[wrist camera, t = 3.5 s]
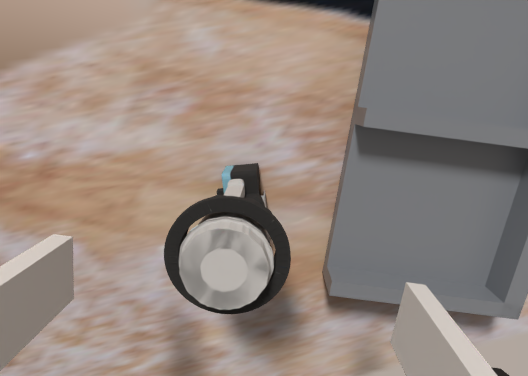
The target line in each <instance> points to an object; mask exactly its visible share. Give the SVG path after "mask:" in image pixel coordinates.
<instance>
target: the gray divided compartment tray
mask: <svg viewBox="0 0 528 376" xmlns="http://www.w3.org/2000/svg"><path fill="white" fill-rule="evenodd" d="M322 272H323V276H324V279H325V283H326V286H327V290H328V293H329V296H337V297H345V298H353V299H361V300H369V301H376V302H384V303H392V304H400V303H401V299H402V296H403V292H404V288H405V284H406V282H409V283H416V284H423V285H426V286H427V287H428V289H429V290H430V291H431V292H432V294H433V295H434V296H435V297H436V299H437V300H438V301H439V302H440V304H441V305H442V306H443V307H444V309H445V310H447V311H455V312H463V313H471V314H479V315H487V316H494V317H502V318H510V319H518V318H519V316H520V313H521V310H522V307H523V305H524V302H525V299H526V297H527V294H528V0H374V5H373V11H372V16H371V21H370V26H369V31H368V37H367V42H366V47H365V52H364V57H363V63H362V68H361V73H360V78H359V84H358V89H357V94H356V99H355V104H354V110H353V115H352V120H351V125H350V130H349V136H348V141H347V146H346V151H345V157H344V162H343V167H342V172H341V177H340V183H339V188H338V193H337V198H336V203H335V209H334V214H333V219H332V224H331V230H330V235H329V240H328V245H327V250H326V256H325V261H324V266H323V271H322Z"/></svg>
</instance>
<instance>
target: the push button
mask: <svg viewBox="0 0 528 376" xmlns="http://www.w3.org/2000/svg"><path fill="white" fill-rule="evenodd" d="M259 178H260V177H259V166H258V163H255V164H245V165H234V166H226V167H225V169H224V171H223V172H222V182H223V188H221V189H218V190H217V195H216V196H213V197H211V198H207V199H204V200H202V201H199V202H197V203H195V204H193V205H192V206H190V207H189V208H187V209H186V210H185V211H184V212H183V213H182V214H181V215H180V216H179V217H178V218H177V220H176V221H175V222H174V224H173V225H172V227H171V229H170V231H169V233H168V235H167V238H166V242H165V248H164V260H165V266H166V270H167V273H168V275H169V277H170V280H171V281H172V283H173V285H174V286H175V287H176V289H177V290H178V291H179V292H180V293H181V295H183V296H184V297H185V298H186V299H187V300H189V301H190V302H191V303H193V304H195V305H196V306H198V307H200V308H202V309H205V310H208V311H211V312H215V313H221V314H238V313H244V312H248V311H251V310H254V309H256V308H259V307H261V306H262V305H264V304H266V303H267V302H268V301H270V300H271V299H272V298H273V297H274V296H275V295H276V294H277V293H278V292H279V291H280V289H281V288H282V286H283V285H284V283H285V281H286V279H287V276H288V273H289V269H290V261H291V256H290V246H289V242H288V238H287V235H286V233H285V231H284V229H283V227H282V225H281V224H280V222H279V221H278V220H277V219H276V217H275V216H274V215H273V214H272V213H271V211H270V210H269V209H267V208H266V195H265V190H264V194H263V195H264V196H260V193H259ZM204 216H205V217H204ZM202 217H204V218H203V219H202V220H201V221H200V223H199V224H198V225H197V226H196V227H194V228H193V229H192V230H191V231H190V232H189V233H188V235H187V232H188V229H189V227H190V226H191V225H192V224H193V223H194V222H195V221H197V220H198V219H200V218H202ZM269 235H270V237H271V239H272V240H273V243H274V245H275V249H276V251H275V255H274V258H273V251H272V249H271V247H270V237H269Z"/></svg>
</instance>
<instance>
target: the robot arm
mask: <svg viewBox="0 0 528 376" xmlns="http://www.w3.org/2000/svg"><path fill="white" fill-rule="evenodd" d="M73 299H74V286H73V237H71V236H64V235H57V234H53V235H51V236H50V237H48V238H46V239H45V240H43V241H41V242H40V243H38V244H36V245H35V246H33V247H31V248H30V249H28V250H26V251H25V252H23V253H22V254H20V255H18V256H17V257H15V258H13V259H12V260H10V261H8V262H7V263H5V264H3V265H2V266H0V371H1V370H2V369H3V368H4V367H5V366H6V365H7V364H8V363H9V362H10V361H11V360H12V359H13V358H14V357H15V356H16V355H17V354H18V353H19V352H20V351H21V350H22V349H23V348H24V347H25V346H26V345H27V344H28V343H29V342H30V341H31V340H32V339H33V338H34V337H35V336H36V335H37V334H38V333H39V332H40V331H41V330H42V329H43V328H44V327H45V326H46V325H47V324H48V323H49V322H50V321H51V320H52V319H53V318H54V317H55V316H56V315H57V314H58V313H60V312H61V311H62V310H63V309H64V308H65V307H66V306H67V305H68V304H69V303H70V302H71V301H72V300H73ZM390 342H391V344H392V347H393V349H394V351H395V353H396V355H397V357H398V360H399V362H400V364H401V366H402V368H403V370H404V372H405V375H406V376H509V375H508V374H507V373H505V372H504V371H503V370H502V369H498V368H492V367H490V366H489V364H488V363H487V362H486V360H484V358H483V357H482V355H481V354H480V353H479V352H478V350H477V349H476V348H475V347H474V345H473V344H472V343H471V342H470V340H469V339H468V338H467V336H466V335H465V334H464V333H463V331H462V330H461V329H460V328H459V326H458V325H457V324H456V323H455V321H454V320H453V319H452V318H451V316H450V315H449V314H448V312H447V311H446V310H445V309H444V307H443V306H442V305H441V304H440V302H439V301H438V300H437V299H436V297H435V296H434V295H433V294H432V292H431V291H430V290H429V289H428V287H427V286H426V285H423V284H416V283H409V282H406V284H405V288H404V292H403V296H402V299H401V303H400V307H399V311H398V315H397V319H396V322H395V326H394V330H393V334H392V338H391V341H390Z"/></svg>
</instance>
